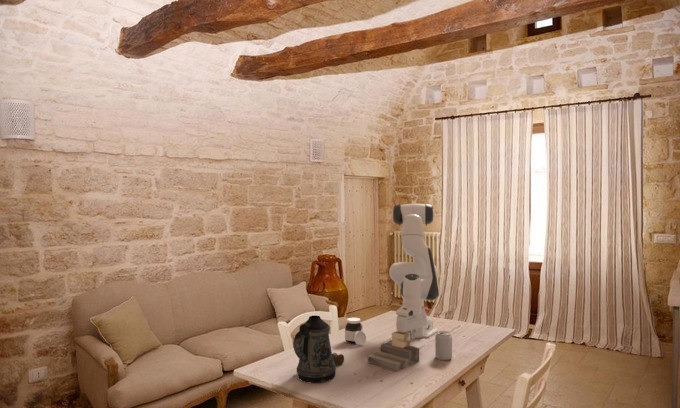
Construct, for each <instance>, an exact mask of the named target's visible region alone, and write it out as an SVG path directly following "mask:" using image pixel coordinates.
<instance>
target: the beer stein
mask: <svg viewBox="0 0 680 408" xmlns="http://www.w3.org/2000/svg"><path fill="white" fill-rule="evenodd" d="M330 330H331V327H330V325H329V324H328V323H327V322H326V321H325V320H323V319H322V318H321V316H320V315H310V316H308V319H307V320H306V321H305V322H304V323H302V324H300V325H299V330H298V332H296V334H295V335H294V338H293V342H292V345H293V350H294V354H295V355H296V356H297V358H298V363H297V365H296V373H297V378H299V379H298V380H300V379H301V380H302V382H304V381H305V383H307V382H311V383H310V384H323V383H326V382H327V381H328V382H330V381H332V380H334V378H335V377H336V371H337V365H336V363H335V362H334V360H333V356H332V354H333V352H332V346H331V340H330V336H329V335H330V334H329V333H330ZM301 380H300V381H301ZM322 382H323V383H322Z"/></svg>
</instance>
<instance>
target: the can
mask: <svg viewBox="0 0 680 408" xmlns="http://www.w3.org/2000/svg"><path fill="white" fill-rule="evenodd" d="M434 339H435V347H434V348H435V350H434V351H435V357H436V358H437V359H438V360H440V361H449V360H451V359H452V358H453V336H452V333H451V332H449V331H448V330H447V331H446V330H438V331H437V332H436V335H435V337H434Z"/></svg>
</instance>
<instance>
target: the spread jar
mask: <svg viewBox="0 0 680 408" xmlns="http://www.w3.org/2000/svg"><path fill="white" fill-rule="evenodd" d="M344 327H345V328H344V339H345V342H347V343H348V344H350V343H351V345H352V344H354V345H357V346H364V345H366V342H367V335H366V334H365V333H364V331H363V324H362V323H361V318H359V317H349V318H347V321H346V325H345V326H344Z"/></svg>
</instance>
